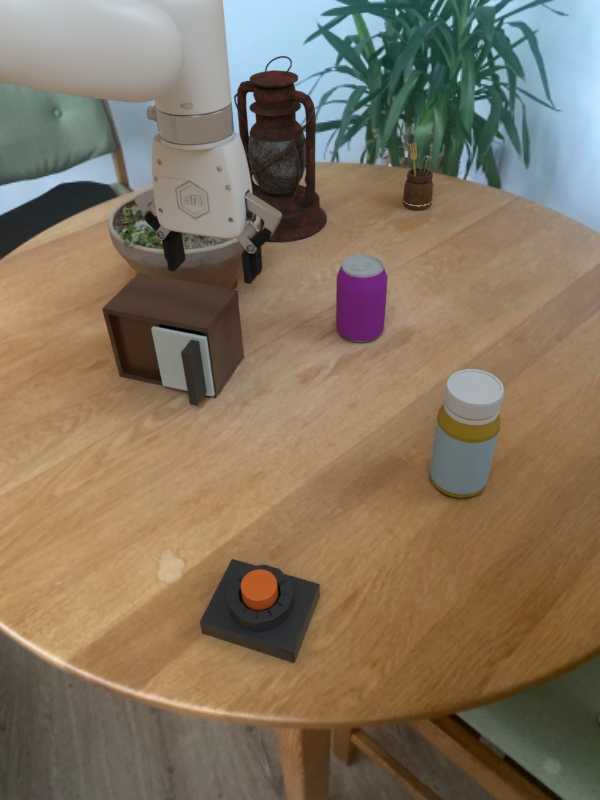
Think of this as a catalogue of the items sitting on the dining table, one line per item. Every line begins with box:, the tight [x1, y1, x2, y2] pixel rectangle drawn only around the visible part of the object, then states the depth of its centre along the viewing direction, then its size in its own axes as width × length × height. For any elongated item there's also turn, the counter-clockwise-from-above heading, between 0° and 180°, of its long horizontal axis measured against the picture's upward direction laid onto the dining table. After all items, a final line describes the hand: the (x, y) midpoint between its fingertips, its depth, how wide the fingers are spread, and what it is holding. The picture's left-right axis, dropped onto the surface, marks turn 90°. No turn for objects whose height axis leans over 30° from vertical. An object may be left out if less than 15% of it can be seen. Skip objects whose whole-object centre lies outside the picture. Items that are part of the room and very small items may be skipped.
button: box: [241, 569, 278, 610], centre depth 67 cm, size 4×4×2 cm
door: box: [151, 326, 215, 407], centre depth 92 cm, size 4×8×10 cm, turn 71°
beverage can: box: [335, 253, 389, 343], centre depth 104 cm, size 8×8×12 cm
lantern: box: [233, 55, 328, 243], centre depth 128 cm, size 19×19×30 cm
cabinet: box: [101, 273, 245, 398], centre depth 98 cm, size 10×16×12 cm, turn 71°
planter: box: [107, 193, 261, 290], centre depth 115 cm, size 26×25×15 cm
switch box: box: [199, 558, 321, 664], centre depth 69 cm, size 10×8×4 cm
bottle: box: [428, 368, 505, 499], centre depth 78 cm, size 7×7×15 cm
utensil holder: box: [402, 141, 434, 211], centre depth 138 cm, size 6×6×12 cm
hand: (214, 271), depth 79 cm, fingers open, 9 cm apart
